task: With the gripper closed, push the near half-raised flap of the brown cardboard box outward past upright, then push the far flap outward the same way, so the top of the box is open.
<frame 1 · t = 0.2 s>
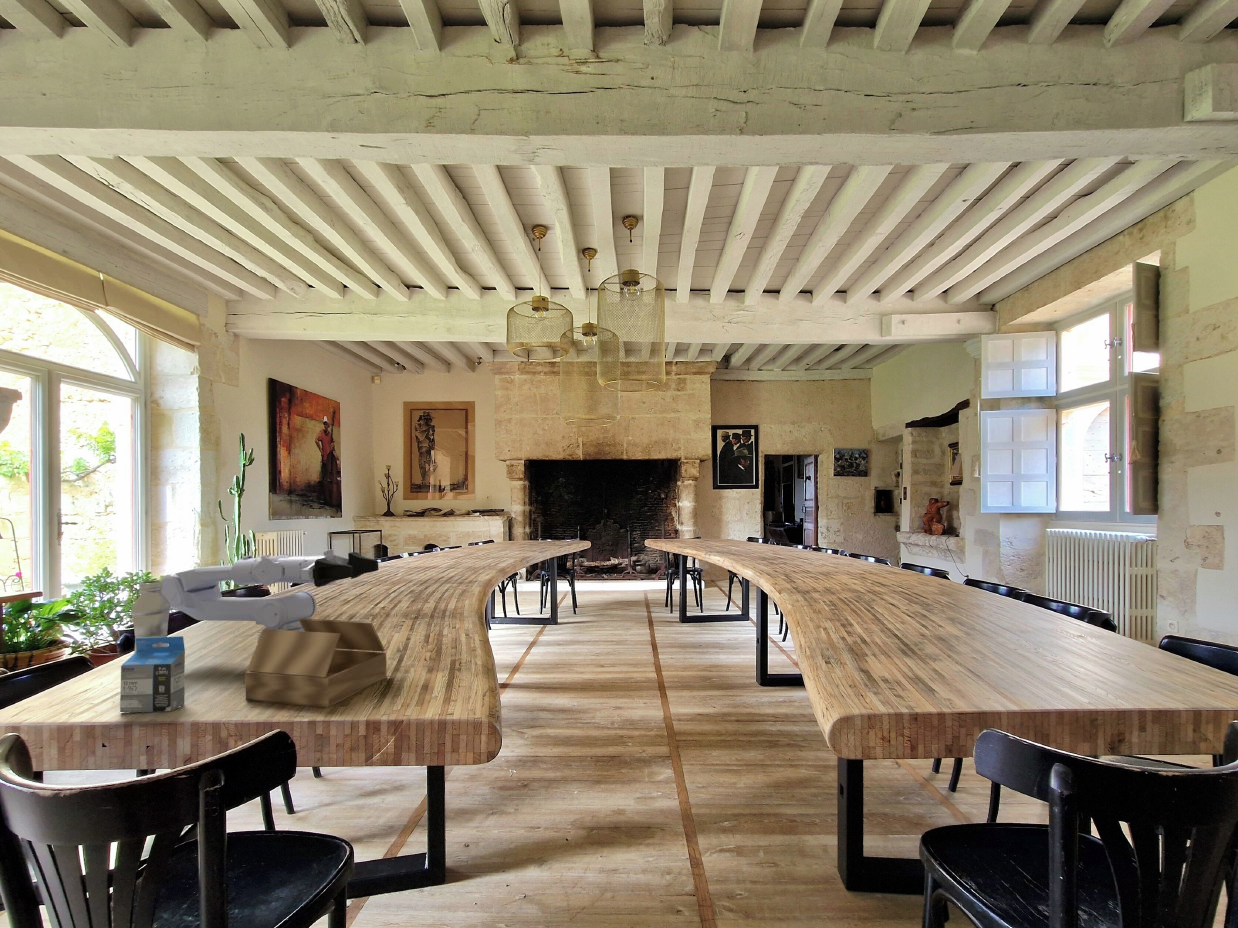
hand: (364, 568, 122), 22 cm above the table, fingers open, 7 cm apart
flap far: (341, 634, 120), point 9 cm above the table, hinge at 60.0°
carton: (319, 688, 114), on the table
plastic bottle: (151, 680, 122), on the table
label tape box: (153, 710, 106), on the table
flap near: (293, 652, 108), point 9 cm above the table, hinge at 60.0°
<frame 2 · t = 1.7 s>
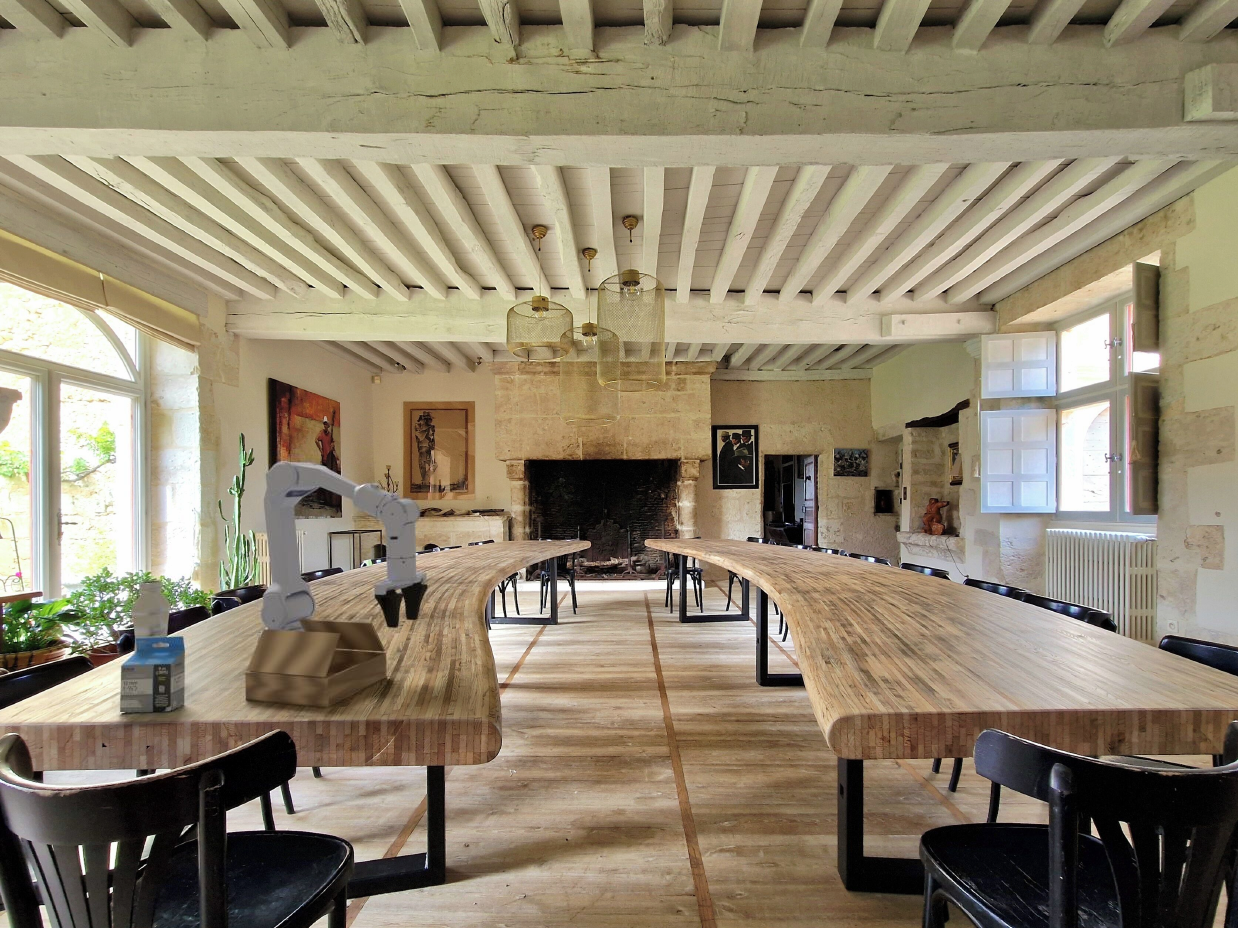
hand: (402, 623, 123), 10 cm above the table, fingers open, 6 cm apart
nothing on the table moved.
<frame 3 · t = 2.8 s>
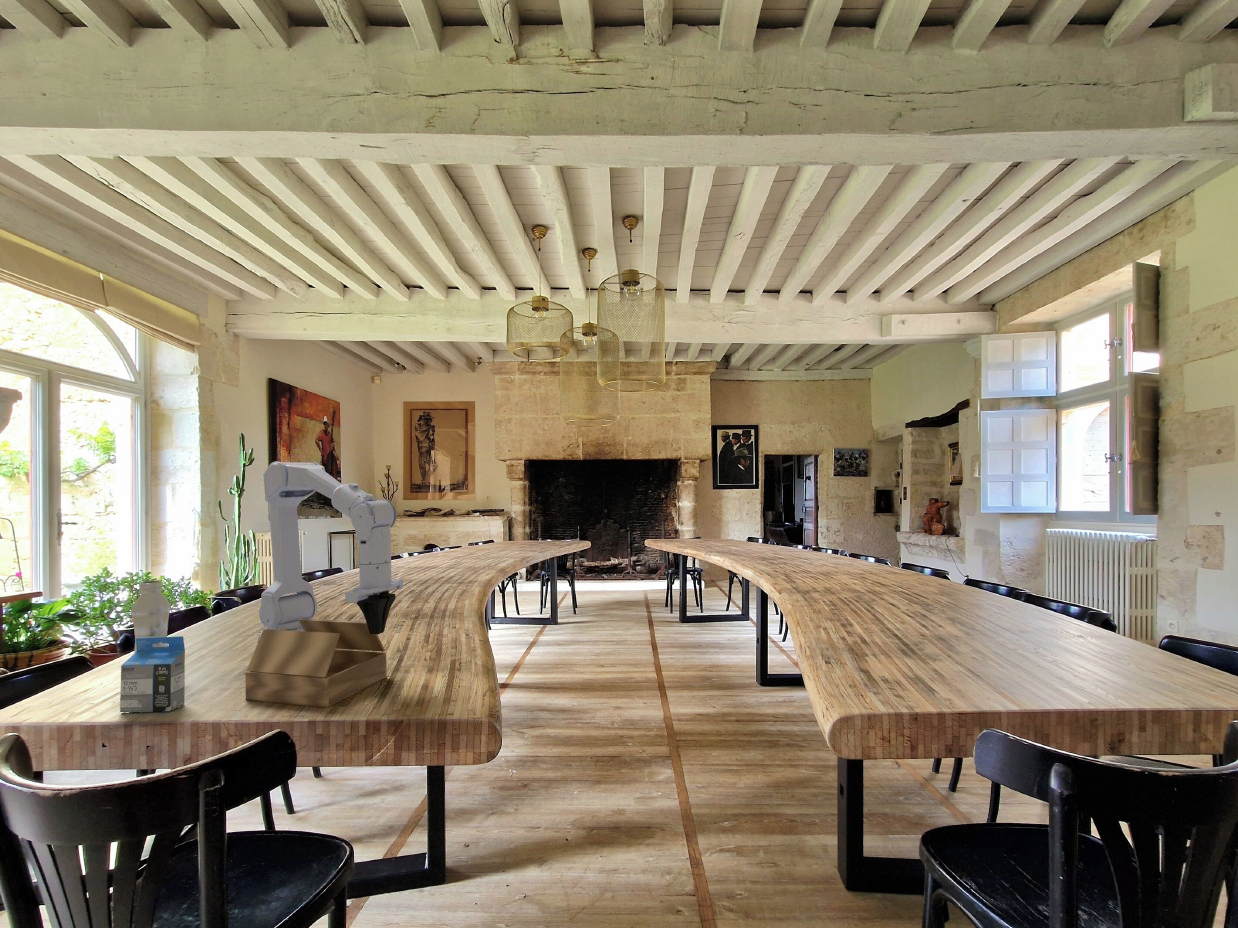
hand: (376, 633, 115), 10 cm above the table, fingers closed
flap far: (341, 634, 120), point 9 cm above the table, hinge at 59.5°, touching gripper
everything else where it was.
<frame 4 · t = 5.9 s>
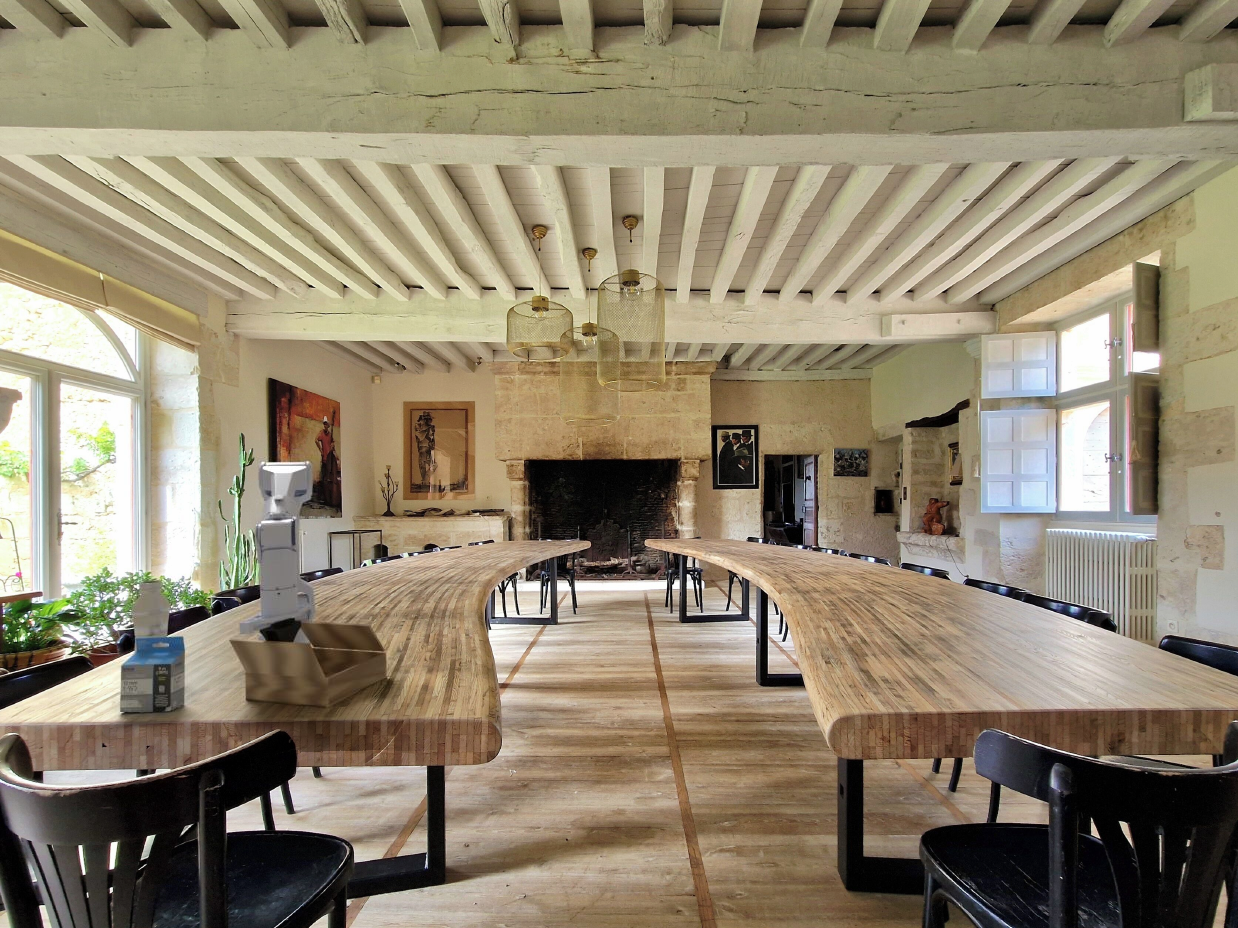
hand: (281, 664, 106), 7 cm above the table, fingers closed, pressing on flap near
flap far: (340, 636, 120), point 8 cm above the table, hinge at 54.8°
flap near: (277, 658, 105), point 9 cm above the table, hinge at 116.5°, touching gripper
everything else where it was.
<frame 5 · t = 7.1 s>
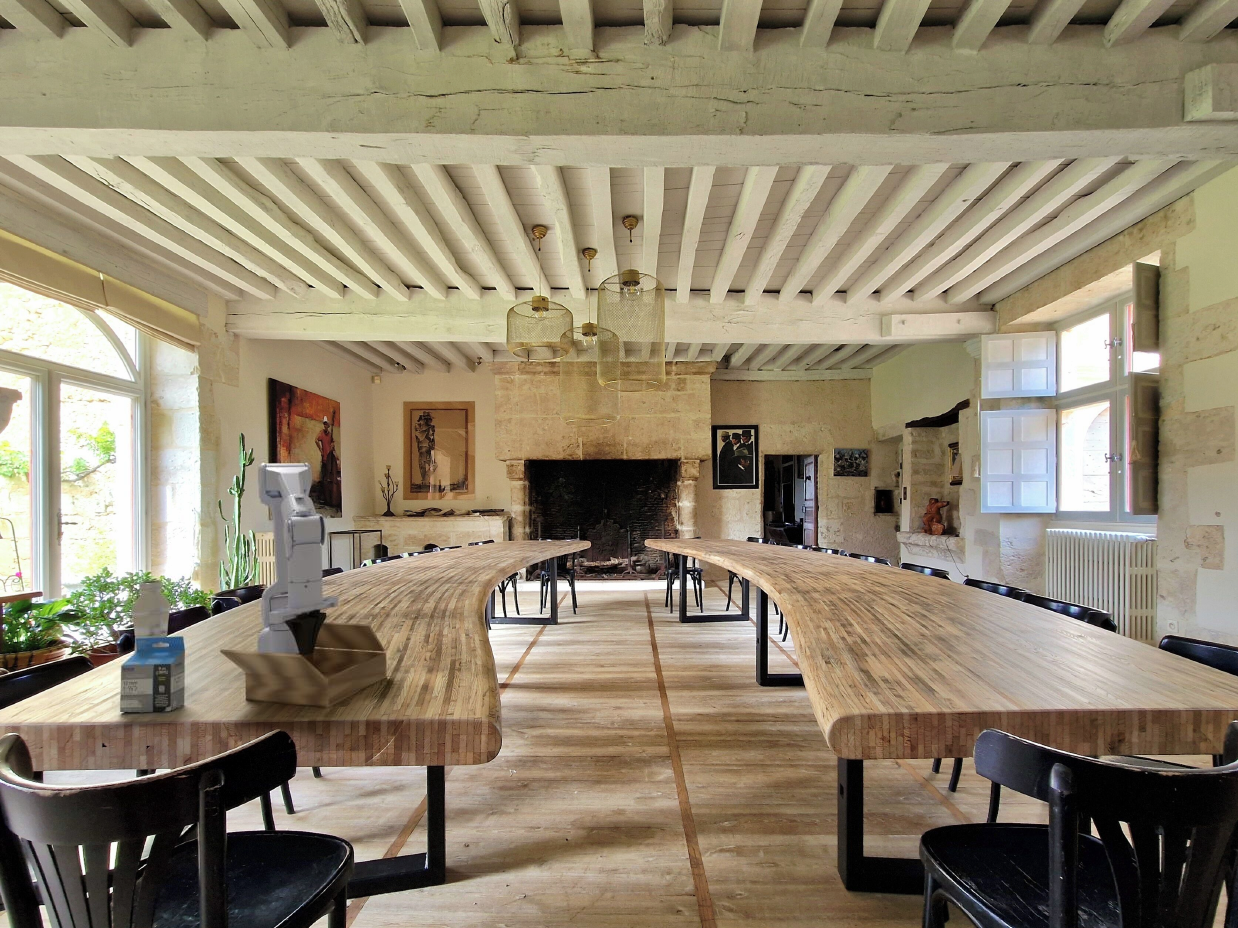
hand: (306, 653, 111), 7 cm above the table, fingers closed
flap near: (272, 664, 104), point 8 cm above the table, hinge at 134.2°
everything else where it was.
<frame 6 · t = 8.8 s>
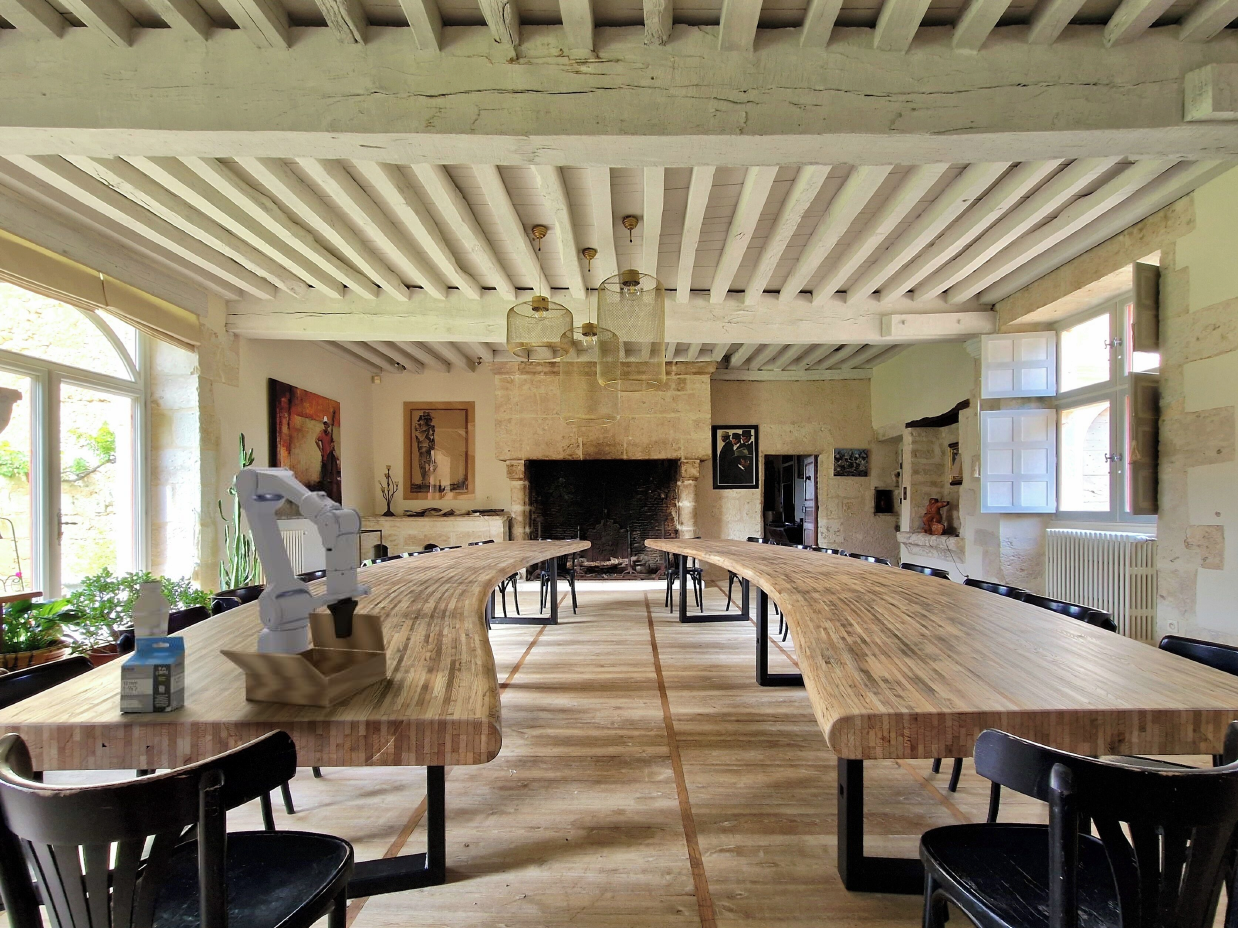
hand: (344, 637, 120), 8 cm above the table, fingers closed, pressing on flap far
flap far: (346, 631, 121), point 9 cm above the table, hinge at 80.1°, touching gripper
flap near: (272, 664, 104), point 8 cm above the table, hinge at 134.7°
everything else where it was.
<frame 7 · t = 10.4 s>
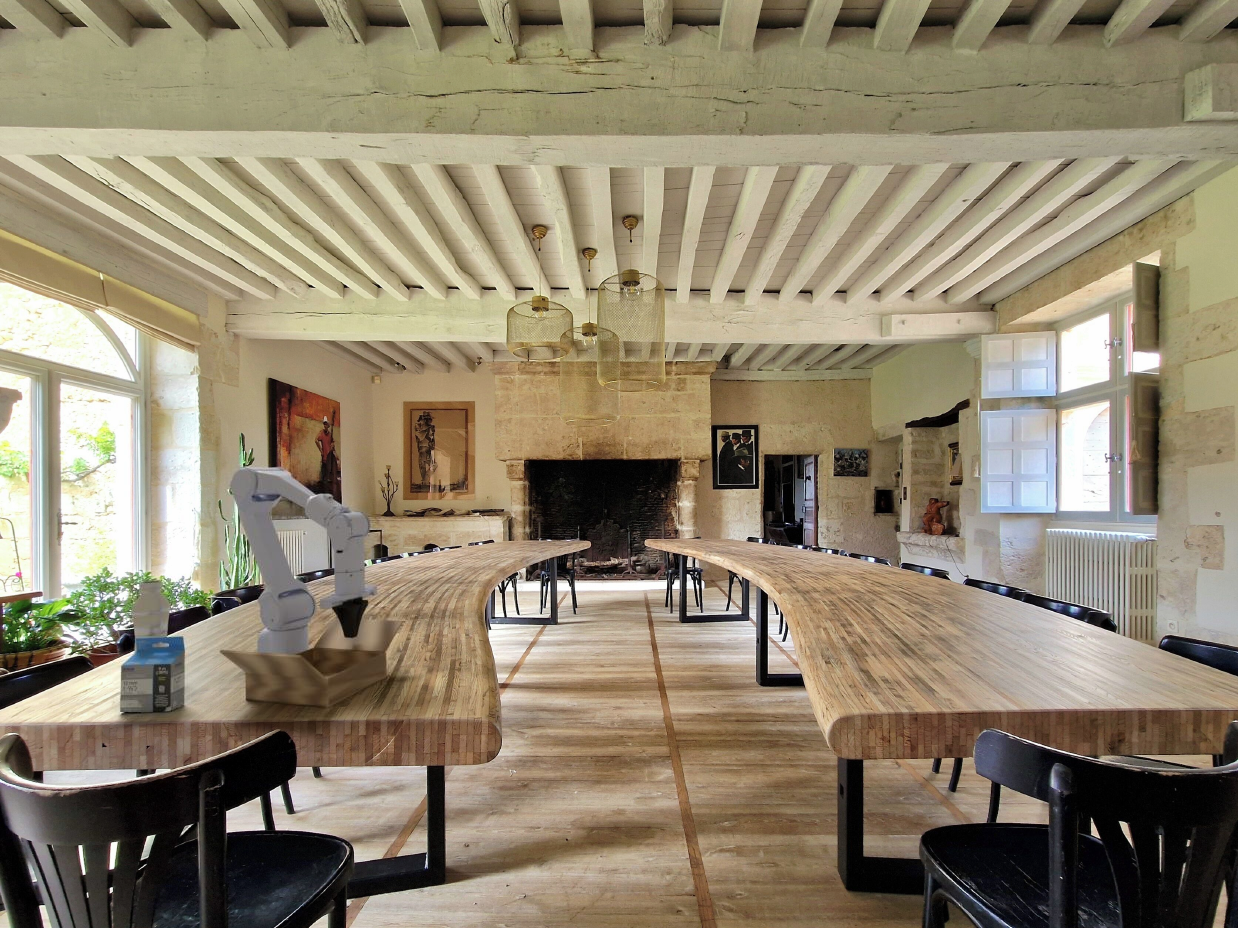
hand: (350, 636, 123), 8 cm above the table, fingers closed
flap far: (358, 634, 125), point 7 cm above the table, hinge at 141.7°, touching carton
everything else where it was.
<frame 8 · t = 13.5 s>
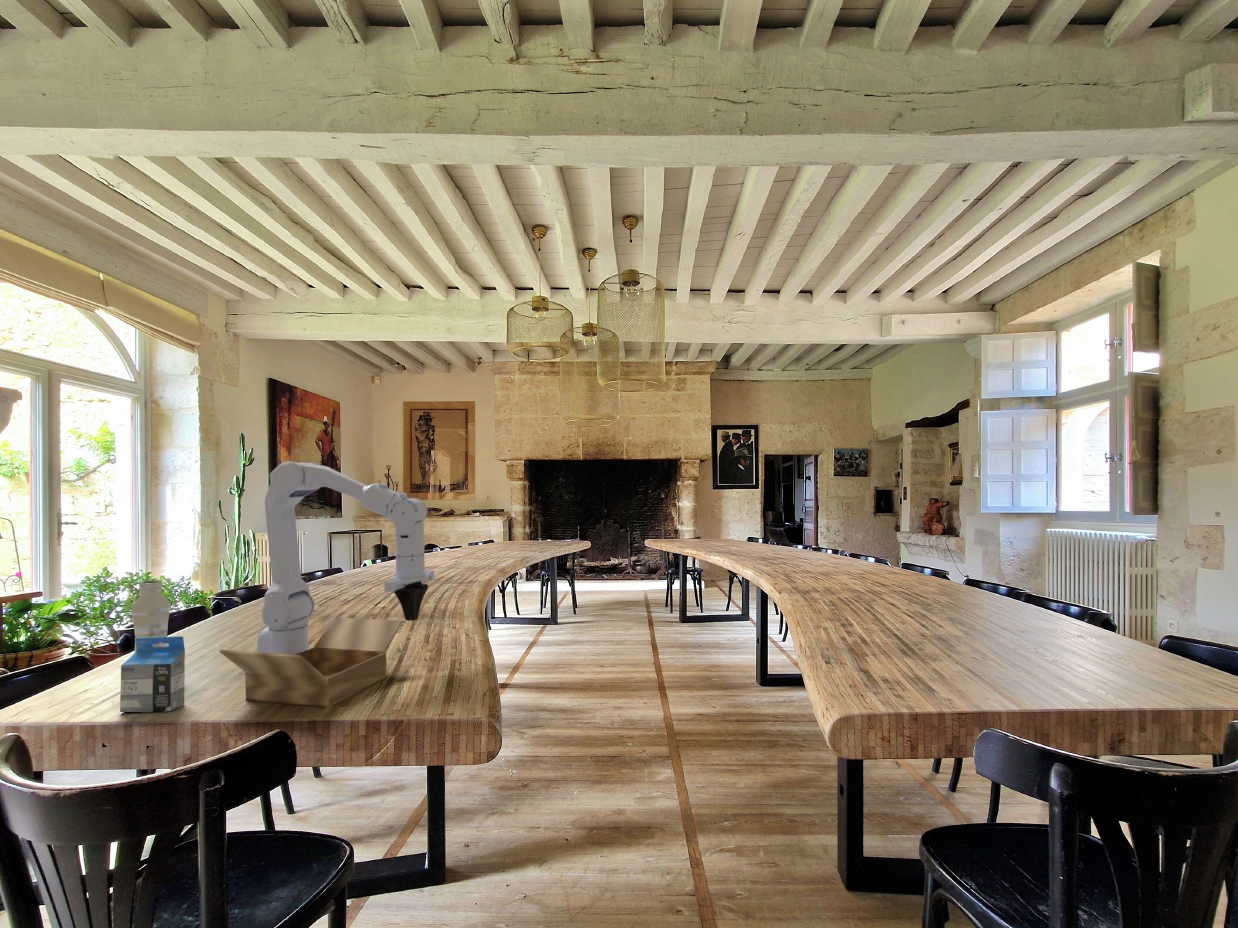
hand: (411, 619, 126), 10 cm above the table, fingers closed
flap far: (358, 634, 125), point 7 cm above the table, hinge at 140.9°, touching carton
everything else where it was.
at the end: flap near at +135° (first picture: +60°); flap far at +141° (first picture: +60°) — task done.
